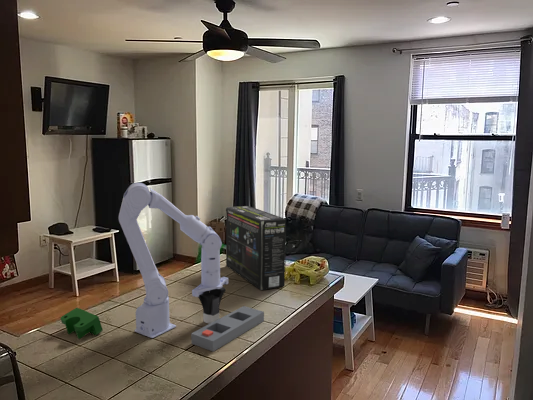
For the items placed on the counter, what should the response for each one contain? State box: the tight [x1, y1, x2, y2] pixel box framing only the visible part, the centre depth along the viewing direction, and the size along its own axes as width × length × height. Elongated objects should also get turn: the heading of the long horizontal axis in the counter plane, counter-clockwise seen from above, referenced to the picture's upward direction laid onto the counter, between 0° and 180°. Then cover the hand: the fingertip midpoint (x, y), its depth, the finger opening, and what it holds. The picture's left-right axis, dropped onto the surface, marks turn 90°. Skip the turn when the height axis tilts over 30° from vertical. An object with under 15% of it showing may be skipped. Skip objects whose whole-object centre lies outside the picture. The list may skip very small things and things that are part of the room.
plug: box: [202, 296, 221, 325], centre depth 137 cm, size 3×4×8 cm
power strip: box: [190, 305, 265, 352], centre depth 130 cm, size 24×8×4 cm, turn 145°
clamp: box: [60, 307, 103, 339], centre depth 129 cm, size 12×6×9 cm, turn 48°
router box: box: [225, 205, 287, 291], centre depth 180 cm, size 36×11×27 cm, turn 27°
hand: (211, 311), depth 137 cm, fingers closed on plug, 3 cm apart
